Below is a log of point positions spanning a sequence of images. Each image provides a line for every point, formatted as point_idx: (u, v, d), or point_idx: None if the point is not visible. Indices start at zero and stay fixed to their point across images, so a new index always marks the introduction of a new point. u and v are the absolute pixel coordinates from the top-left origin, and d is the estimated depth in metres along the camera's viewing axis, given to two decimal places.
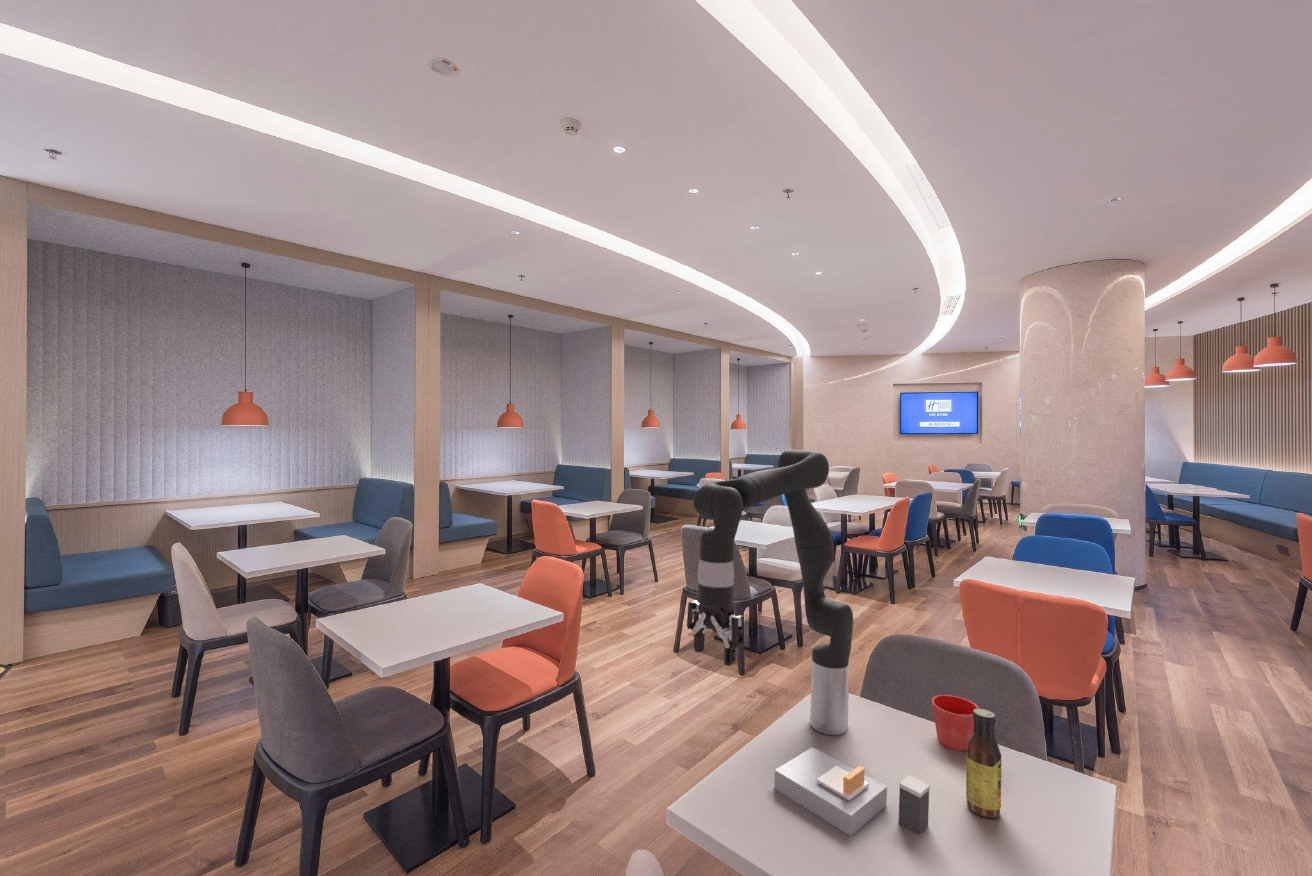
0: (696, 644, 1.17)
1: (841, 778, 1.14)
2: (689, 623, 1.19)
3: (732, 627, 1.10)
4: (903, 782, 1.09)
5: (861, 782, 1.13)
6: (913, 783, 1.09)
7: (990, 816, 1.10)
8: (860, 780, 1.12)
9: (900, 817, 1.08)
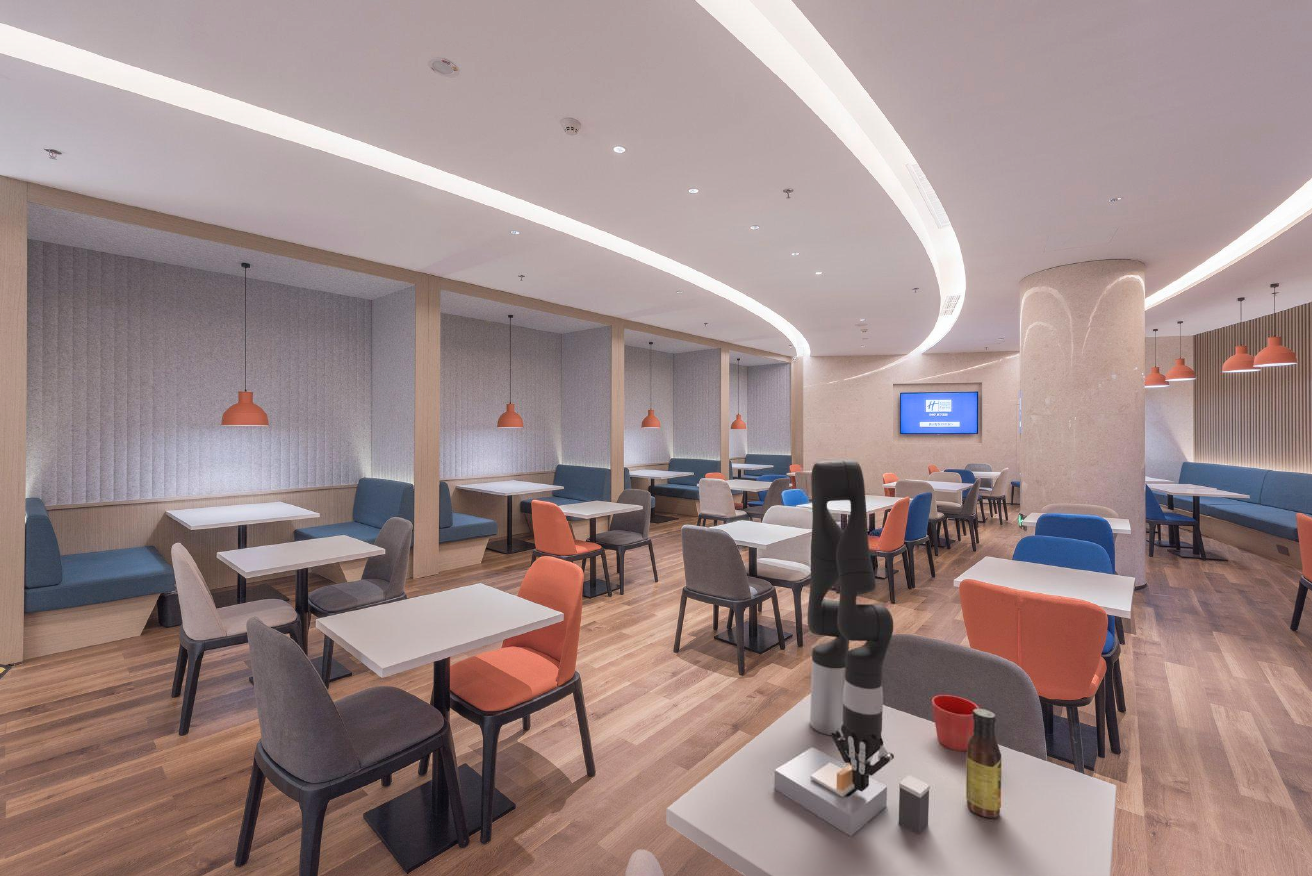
0: (856, 781, 1.11)
1: (835, 775, 1.16)
2: (846, 757, 1.12)
3: (879, 762, 1.07)
4: (903, 782, 1.09)
5: None
6: (913, 783, 1.09)
7: (990, 816, 1.10)
8: None
9: (900, 817, 1.08)
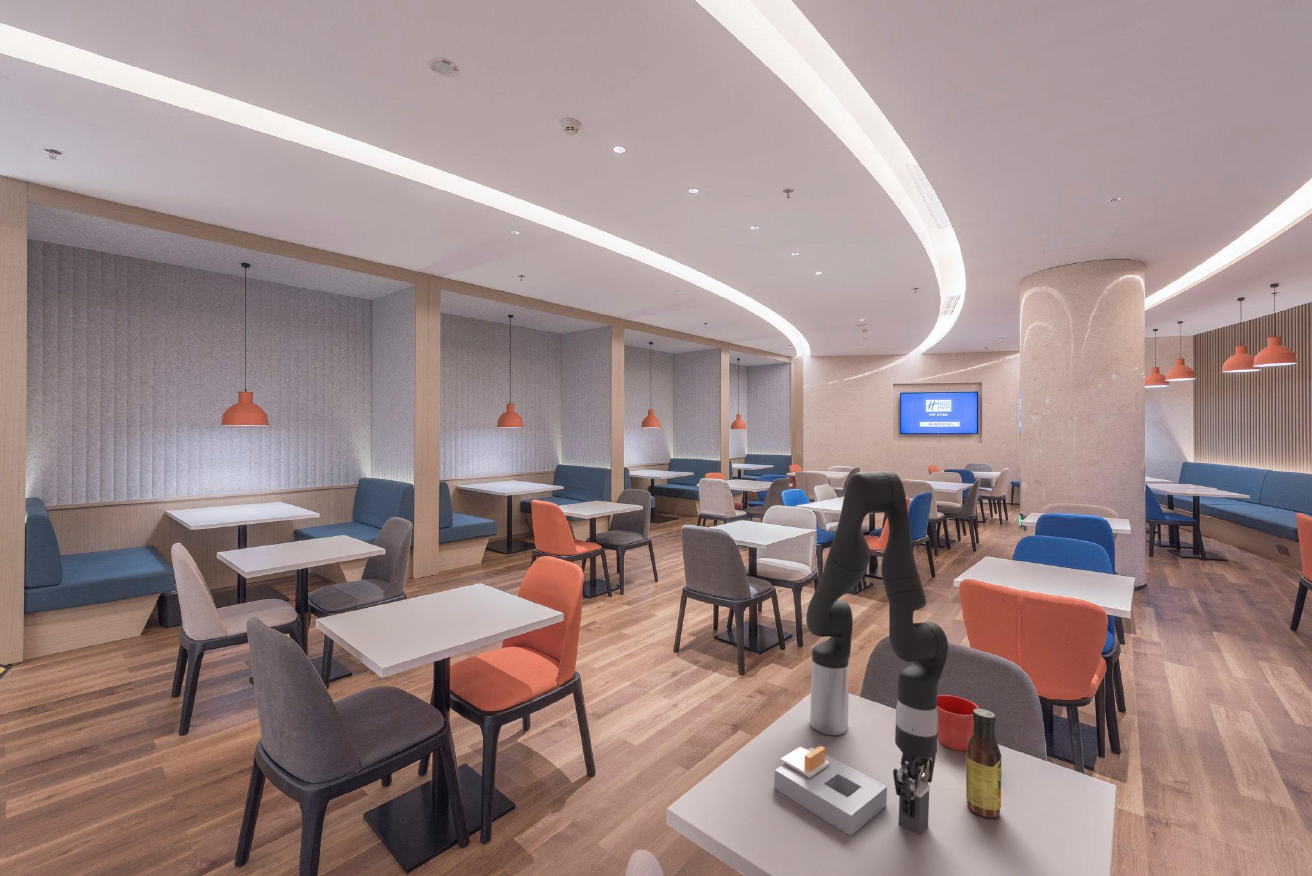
0: None
1: (804, 758, 1.21)
2: None
3: None
4: None
5: (822, 761, 1.20)
6: None
7: (990, 816, 1.10)
8: (821, 759, 1.19)
9: (900, 817, 1.08)
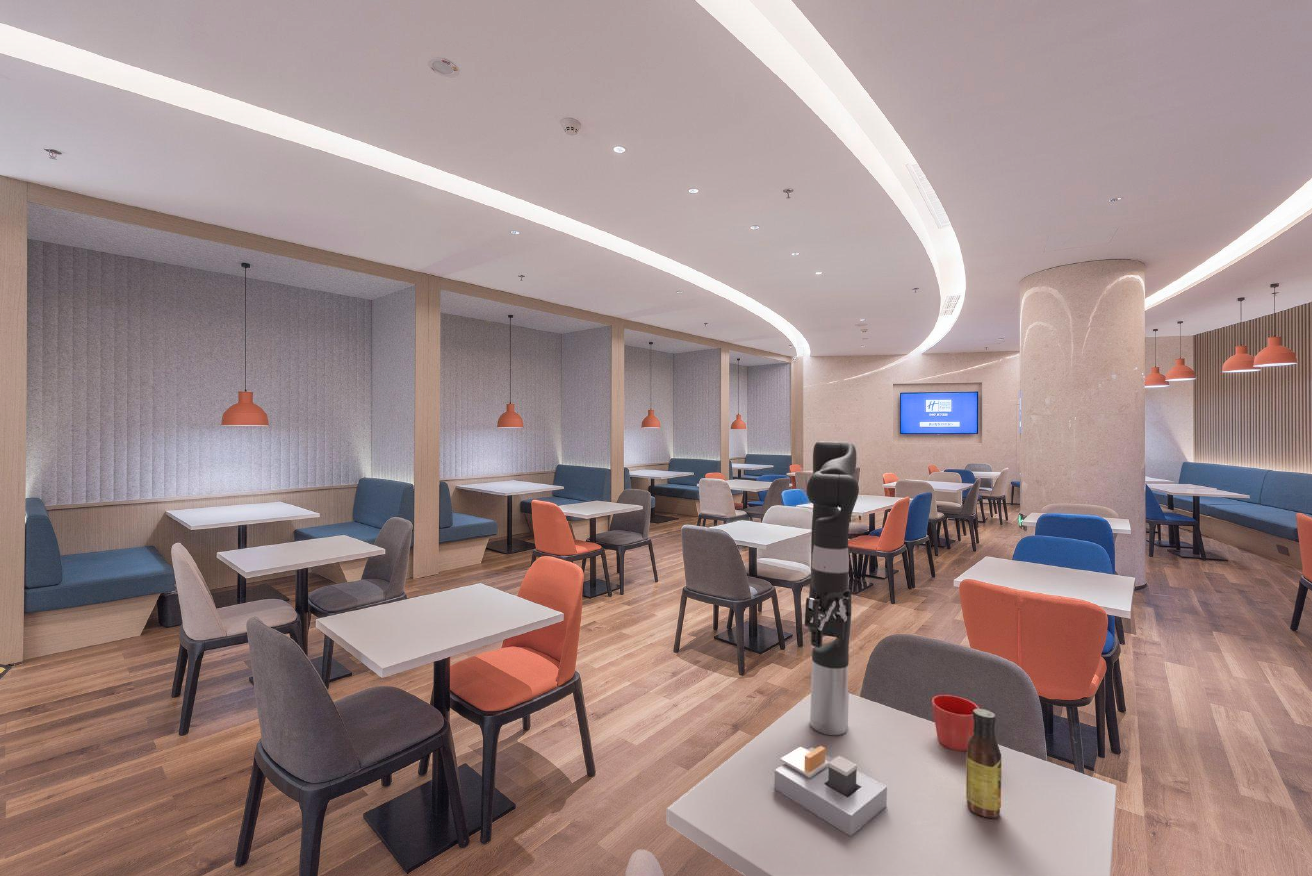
0: None
1: (804, 758, 1.21)
2: None
3: None
4: (832, 762, 1.14)
5: (822, 761, 1.20)
6: (841, 763, 1.14)
7: (990, 816, 1.10)
8: (821, 759, 1.19)
9: None
